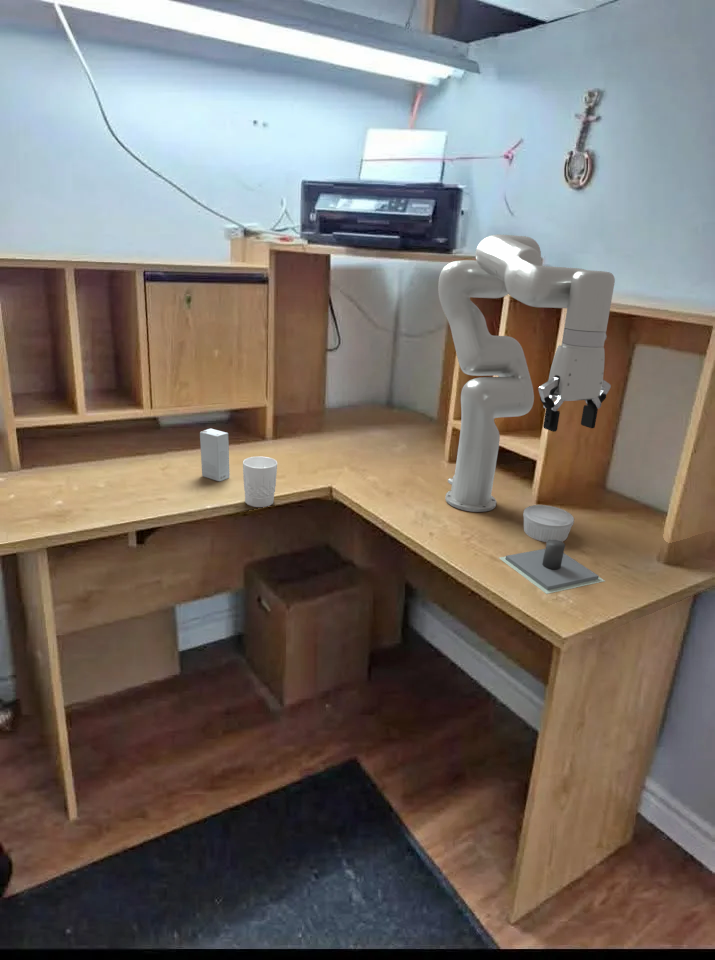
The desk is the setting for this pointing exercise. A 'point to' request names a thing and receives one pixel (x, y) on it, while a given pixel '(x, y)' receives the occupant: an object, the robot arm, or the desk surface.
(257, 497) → the white cup
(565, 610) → the desk surface
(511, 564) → the mat
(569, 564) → the lid
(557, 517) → the ramekin
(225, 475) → the skincare box
